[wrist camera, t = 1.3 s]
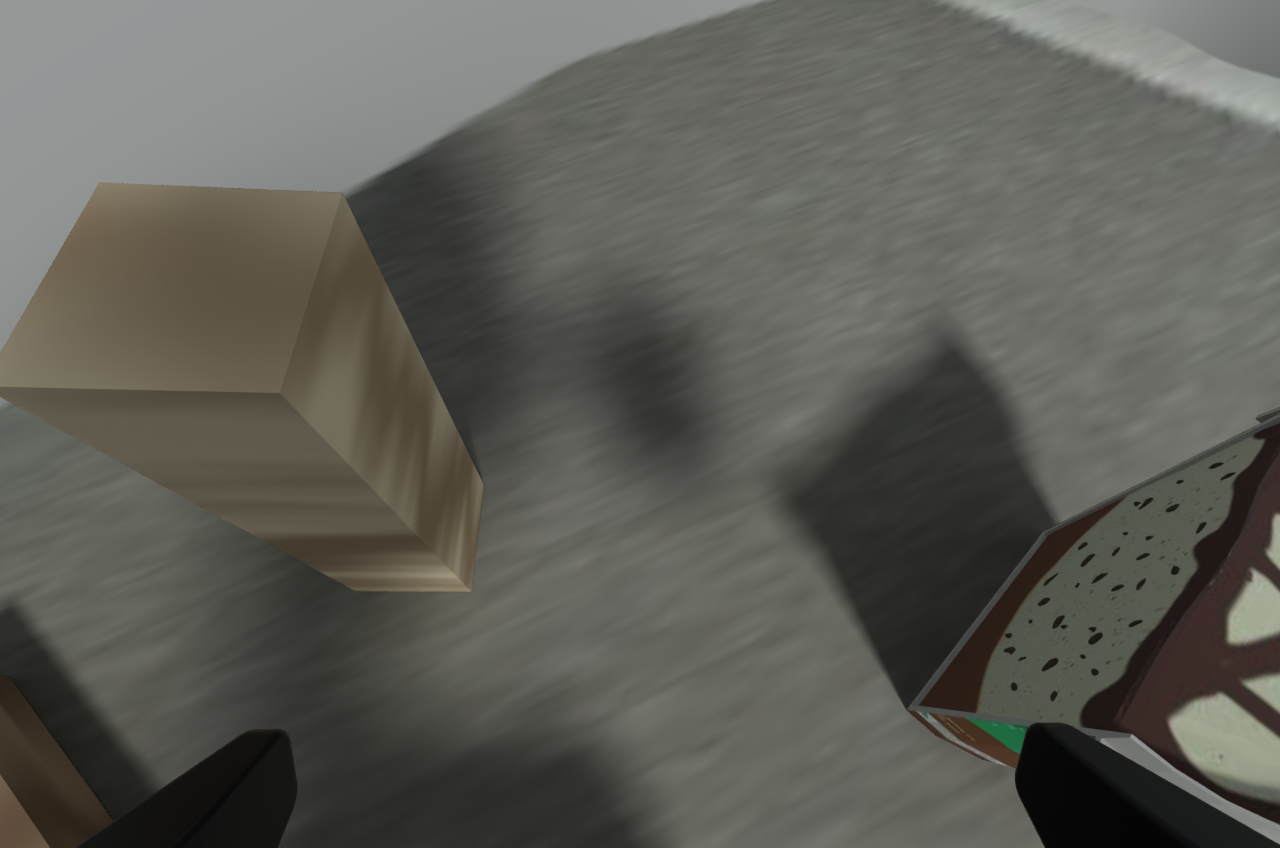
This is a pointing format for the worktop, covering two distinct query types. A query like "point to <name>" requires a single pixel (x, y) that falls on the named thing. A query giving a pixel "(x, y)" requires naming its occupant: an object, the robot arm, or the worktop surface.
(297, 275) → the birch peg
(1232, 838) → the robot arm
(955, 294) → the worktop surface
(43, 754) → the walnut rack
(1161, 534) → the food container
